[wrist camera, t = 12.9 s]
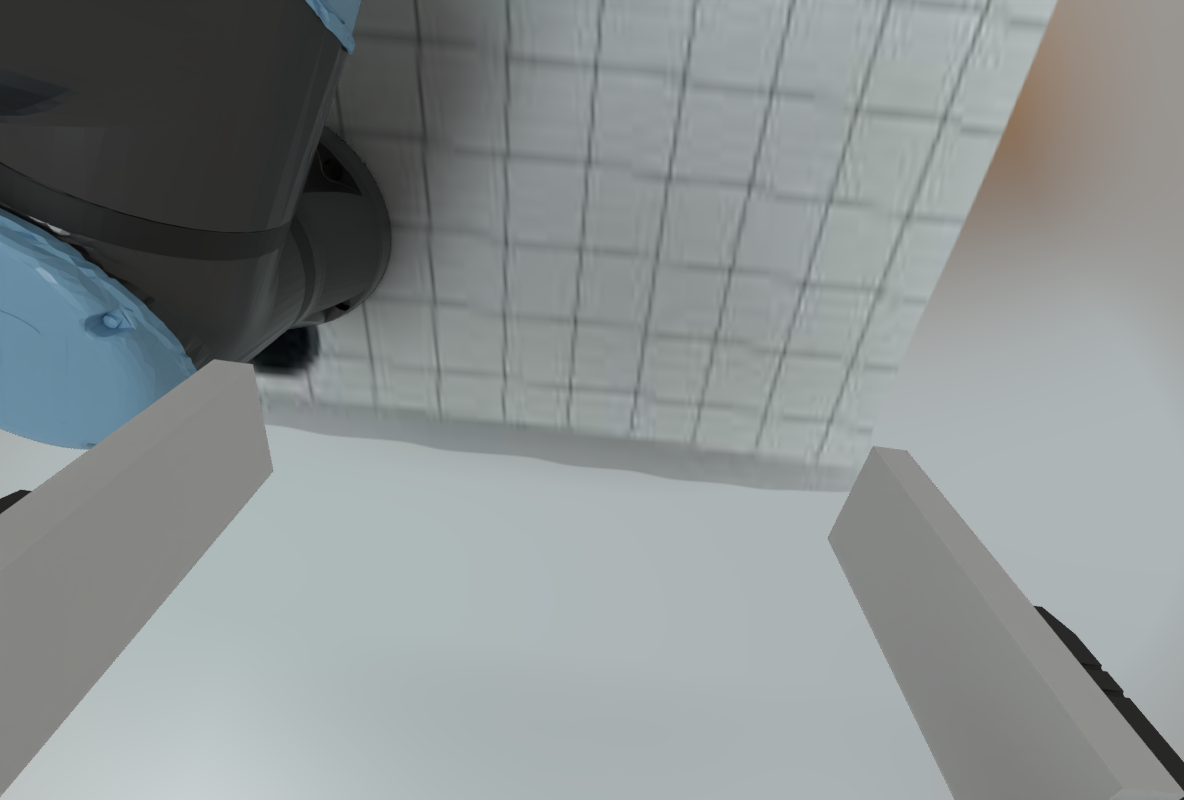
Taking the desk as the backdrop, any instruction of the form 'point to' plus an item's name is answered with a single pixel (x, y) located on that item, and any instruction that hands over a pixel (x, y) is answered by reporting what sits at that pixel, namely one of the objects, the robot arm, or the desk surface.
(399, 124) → the desk surface
